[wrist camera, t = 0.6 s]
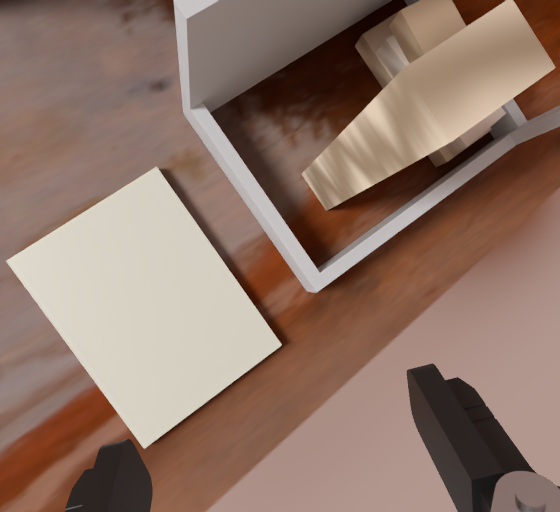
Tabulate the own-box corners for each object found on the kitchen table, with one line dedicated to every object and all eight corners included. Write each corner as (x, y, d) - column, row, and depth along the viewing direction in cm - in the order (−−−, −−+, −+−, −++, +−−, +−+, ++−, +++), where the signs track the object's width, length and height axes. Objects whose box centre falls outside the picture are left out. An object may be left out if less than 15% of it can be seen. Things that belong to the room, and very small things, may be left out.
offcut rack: (183, 113, 34) (173, 0, 20) (403, -21, 38) (518, -191, 24) (306, 291, 35) (376, 297, 21) (508, 142, 39) (677, 67, 25)
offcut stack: (353, 47, 37) (382, 3, 31) (400, 17, 38) (437, -31, 32) (434, 168, 38) (477, 147, 32) (478, 135, 39) (528, 109, 33)
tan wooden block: (301, 174, 36) (403, 67, 18) (360, 134, 37) (511, -3, 19) (326, 210, 36) (451, 141, 18) (384, 170, 37) (555, 67, 19)
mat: (10, 261, 32) (6, 261, 31) (157, 169, 34) (156, 166, 33) (145, 444, 32) (144, 448, 32) (280, 343, 35) (282, 345, 34)
